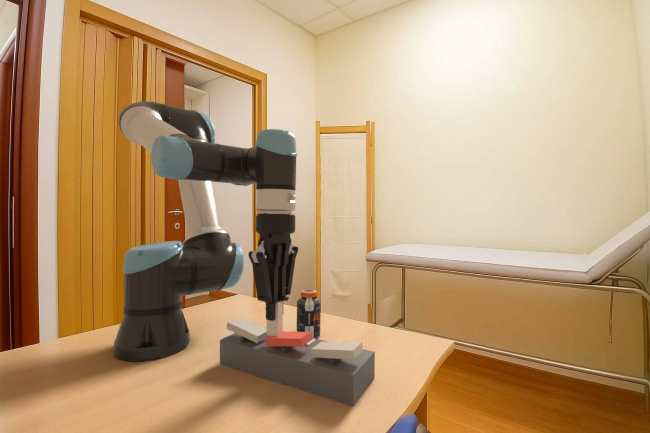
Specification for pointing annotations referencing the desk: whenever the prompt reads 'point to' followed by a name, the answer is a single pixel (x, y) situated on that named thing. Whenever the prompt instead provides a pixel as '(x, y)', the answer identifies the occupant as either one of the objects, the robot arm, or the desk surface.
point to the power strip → (301, 367)
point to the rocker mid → (290, 339)
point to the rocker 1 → (247, 329)
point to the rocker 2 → (337, 350)
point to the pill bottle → (309, 312)
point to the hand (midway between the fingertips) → (274, 334)
